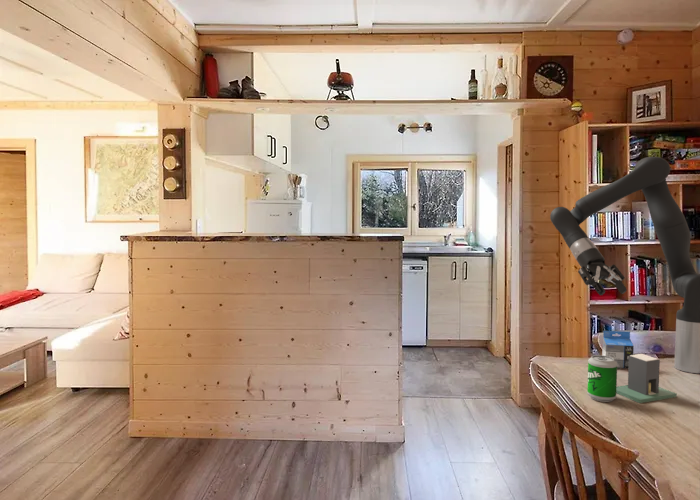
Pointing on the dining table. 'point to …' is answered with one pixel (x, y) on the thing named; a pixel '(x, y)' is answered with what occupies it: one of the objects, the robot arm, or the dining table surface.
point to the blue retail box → (618, 347)
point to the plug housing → (643, 373)
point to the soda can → (602, 378)
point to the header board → (644, 398)
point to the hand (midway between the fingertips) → (613, 293)
